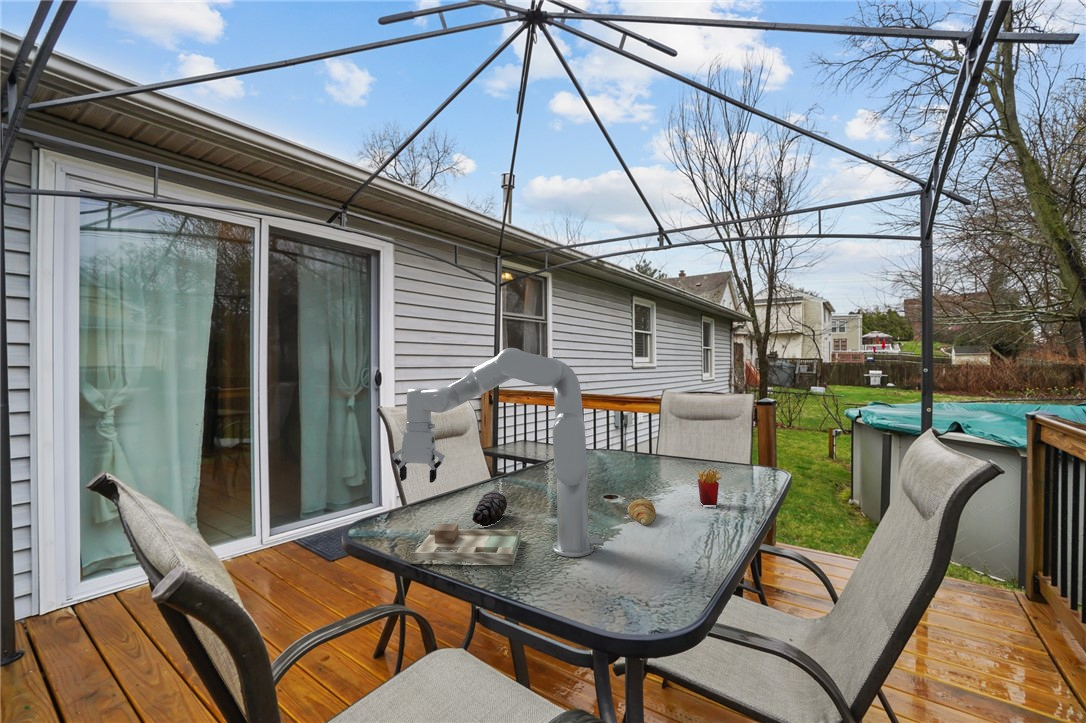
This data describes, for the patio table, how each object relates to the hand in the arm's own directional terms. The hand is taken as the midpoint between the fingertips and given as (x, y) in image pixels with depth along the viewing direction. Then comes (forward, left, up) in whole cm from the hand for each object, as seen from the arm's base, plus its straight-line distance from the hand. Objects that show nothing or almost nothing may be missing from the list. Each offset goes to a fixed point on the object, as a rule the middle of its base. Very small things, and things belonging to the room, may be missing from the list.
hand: (417, 480), depth 153 cm
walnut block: (-9, 0, -19) cm, 21 cm away
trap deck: (-17, +4, -21) cm, 27 cm away
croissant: (-74, -30, -21) cm, 83 cm away
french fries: (-103, -43, -21) cm, 114 cm away
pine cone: (-19, -24, -21) cm, 37 cm away
